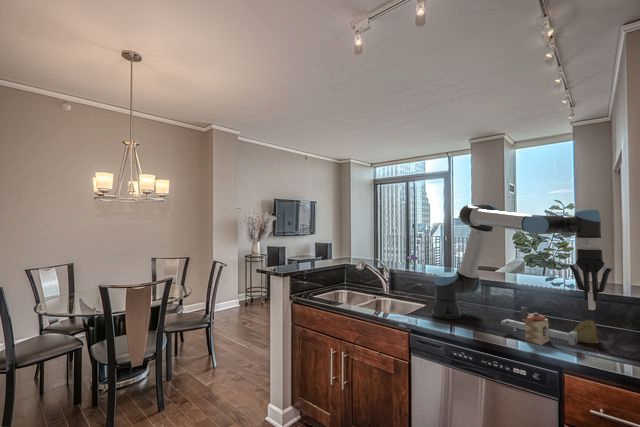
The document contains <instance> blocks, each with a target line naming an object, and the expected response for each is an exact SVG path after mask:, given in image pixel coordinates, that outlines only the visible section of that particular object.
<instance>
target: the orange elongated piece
mask: <svg viewBox="0 0 640 427" xmlns="http://www.w3.org/2000/svg"><path fill="white" fill-rule="evenodd" d="M520 318H521V321H522V322H525V321H530V320H540V321H542V320H545V319H546V316H545V315H543V314H540V313H538V312H533V313H528V307H526V306H521V307H520Z"/></svg>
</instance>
